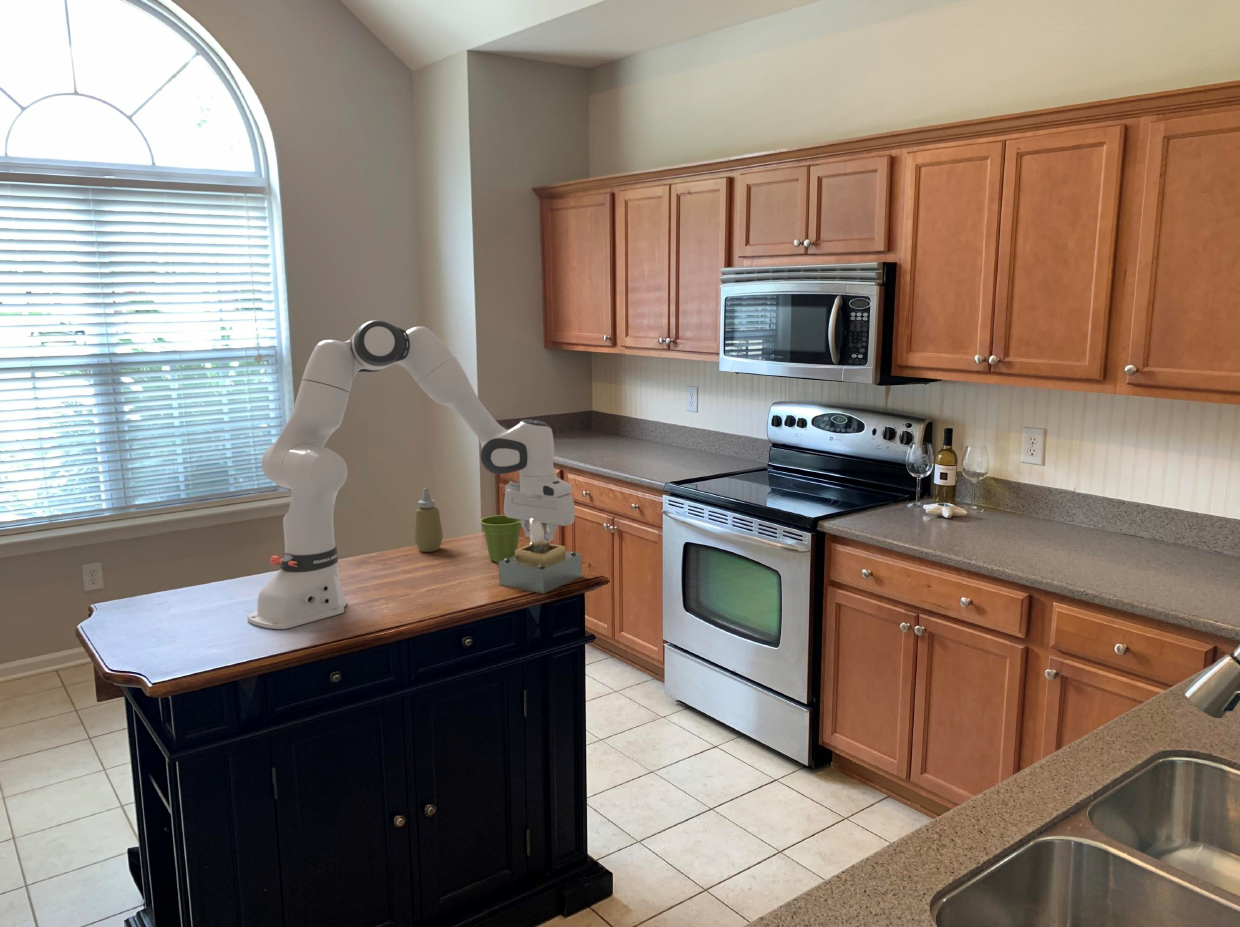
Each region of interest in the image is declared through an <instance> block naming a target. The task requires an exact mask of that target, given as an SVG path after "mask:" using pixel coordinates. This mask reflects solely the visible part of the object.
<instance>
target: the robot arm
mask: <svg viewBox="0 0 1240 927" xmlns="http://www.w3.org/2000/svg"><path fill="white" fill-rule="evenodd" d="M349 338H350V339H348V340H346V341H340V340H335V339H325V340H321V341H320V342H318V343H317V344H316V345H315V347H314V349H313V351H312V352H311V354H310V357H309V359H308V361H307V363H306V365H305V368H304V371H303V374H302V378H301V382H300V384H299V389H298V392H297V396H296V399H295V401H294V406H293V409H292V412H291V414H290V416H289V418H288V421H287V422H286V423H285V426H284V428H283V429H282V431H281V433H280V434H279V436H278V438H277V439H276V441H274V443H273V444H272V445H270V446H269V447H268V448H267V449H266V450H265V451H264V453H263V455H262V458H261V468H262V471H263V473H264V475H265V477H267V479H269V480H270V481H271V482H273V483H274V484H276V485H277V486H279V487H282V488H286V489H289V490H290V491H291V498H290V503H289V504H290V505H289V509H288V511H287V512H286V514H285V515H284V516H283V520H282V524H283V525H282V526H283V537H284V549H285V550H284V552H283V554H282V556H278V555H272V556H271V558H269V559H270V564H272V565H276V566H279V568H280V569H279V570H278V571H277V572H276V574H275V575H274V576H273V577H272V578H271V579H270V580H269V581H268V582H267V584H265V586H264V587H263V588H261V590H260V591H259V593H258V596H257V604H256V605H257V608H256V609H257V610H255V611H253V612H250V613H248V615H247V621H248V623H250V624H251V625H254V626H258V627H261V628H266V629H274V630H286V629H290V628H295V627H298V626H300V625H301V626H302V625H306V624H308V623H312V622H315V621H319V620H322V619H326V618H329V617H334V616H337V615H340V614H344V612H345V607H346V605H347V599H346V598H345V594H344V592H343V589H342V585H341V581H340V577H339V576H340V575H339V569H338V562H339V554H338V546H337V545H336V544H335V543H336V542H335V526H334V510H335V503H336V499H337V495H338V492H339V490H340V489H341V488H342V487H343V486H344V484H345V483H346V481H347V478H348V466H347V462H346V461H345V460H344V458H343V457H342V456H341V455H340V454H338V453H337V452H335V451H333V450H332V449H330V448H328V447H325V445H326V444H327V442H328V440H329V438H330V437H331V435H332V434H333V433H334V432H335V431H336V430H338V429H339V428H340V427H341V425H342V423H343V420H344V417H345V416H344V415H345V413H346V409H347V404H348V401H349V397H350V394H351V390H352V386H353V383H354V380H355V377H356V375H357V374H358V373H359V372H360V373H361V372H362V373H363V372H365V373H366V372H367V373H371V372H373V373H375V372H379V371H380V372H381V371H383V370H384V369H386V368H388V367H390V366H391V365H399V366H401V367H403V369H405V370H406V371H407V372H408V373H409V374H410V376H411V377H412V379H414V381H415V382H416V383H417V385H418V386H419V387H420V388H421V390H422V391H423V392H425V394H426V395H427V396H428V397H429V398H430V399H432V400H433V401H434V402H435V403H437V404H439V405H441V406H445V407H448V408H450V409H451V410H453V411H455V412H456V413H457V414H459V416H460V417H461V418H462V419H463V421H464V422H465V423H466V425H468V427H469V429H471V430H472V432H473V433H474V434H475V435H476V436H477V438H478V440H479V442H480V445H481V451H480V461H481V463H482V465H483V467H484V468H485V469H486V470H487V471H488V472H490V473H491V474H494V475H505V474H509V473H514V472H517V471H518V472H519V473H518V474H519V481H517V482H515V481H509V482H508V483H506V485H505V488H504V492H505V494H504V503H503V513H504V514H503V515H505V516H506V517H508V518H515V519H521V527H522V528H523V530H524V536H525V538H530V534H529V518H530V519H537V520H540V522H541V523H548V528H549V531H548V533H545V540H548V541H550V542H552V541H553V540H554V539H555V532H556V530H557V528H558V526H561V527H562V526H563V527H566V526H570V525H571V524H573V523H574V521H575V520H576V512H575V511H576V510H575V501H574V498H573V496H572V495H571V494H570V493H573V485H572V484H571V483H569V482H567V481H565V480H563V479H561V478H560V477H558V476H556V470H555V467H554V458H555V444H554V443H555V441H554V434H553V430H552V428H551V426H550V425H549V424H547V423H546V422H545V421H541V420H537V419H522V420H520V421H519V423H517V424H516V425H515V426H513V427H511V428H508V427H506V426H504V425H502V424H501V423H500V422H498V420H496V418H495V417H494V416H493V414H492V413H491V412H490V410H488V408H487V407H486V406H485V404H483V401H481V400H480V398H479V397H478V396H477V394H476V392H475V390H474V388H473V385H472V383H471V382H470V379H469V378H468V376H467V374H466V372H465V370H464V369H463V367H462V366H461V363H460V362H459V361H458V359H457V358H456V356H455V355H454V354H453V352H452V351H451V350H450V349H449V348H448V347H447V345H446V344H445V343H444V342H443V341H442V340H441V339H440V338H439V337H438V336H437V335H436V334H435V333H434V332H433V331H432V330H430V329H429V328H427V327H426V326H421V325H419V326H414V327H410V328H409V329H407V330H405V329H403V328H401V327H398V326H396V325H394V324H392V323H390V322H386V321H384V320H379V319H378V320H377V319H374V320H369V321H367V322H365V323H363V324H362V325H360V326H359V328H358V329H356V331H354V333H353V334H352V336H351V337H349Z"/></svg>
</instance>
